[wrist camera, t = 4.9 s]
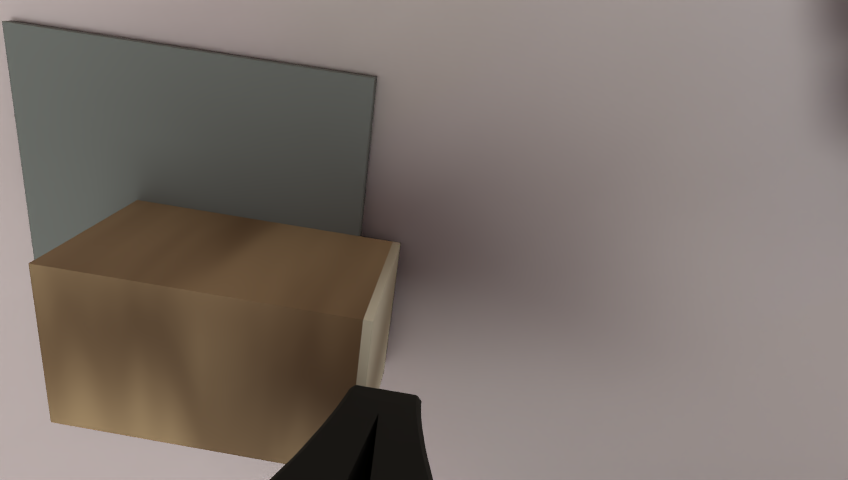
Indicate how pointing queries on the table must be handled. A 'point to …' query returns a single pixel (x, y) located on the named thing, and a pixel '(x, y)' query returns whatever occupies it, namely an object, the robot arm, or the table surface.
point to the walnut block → (210, 327)
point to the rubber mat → (182, 133)
